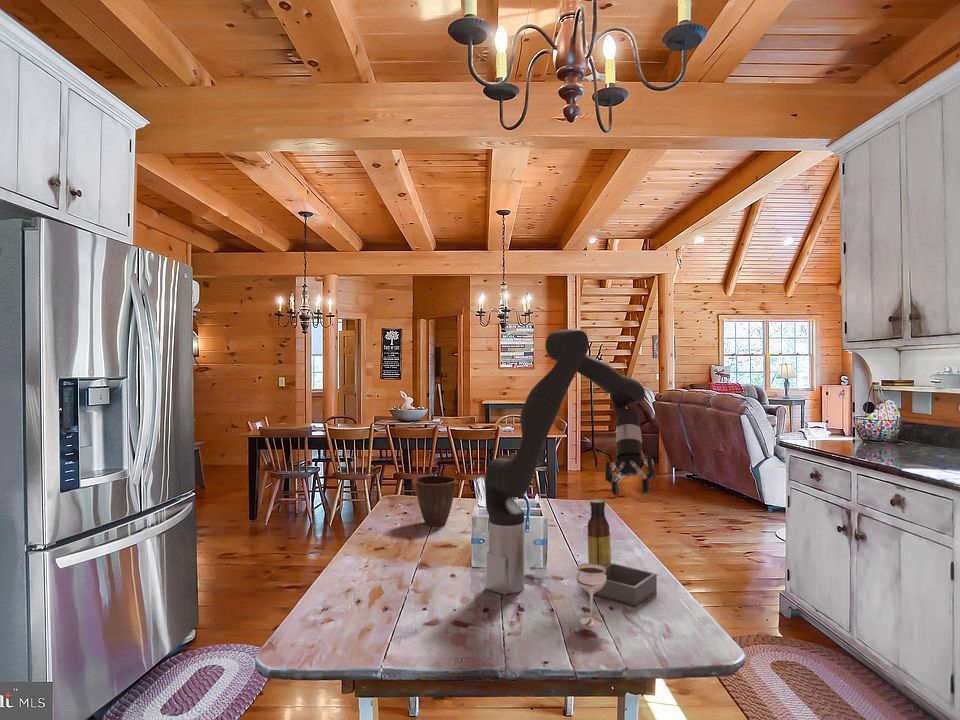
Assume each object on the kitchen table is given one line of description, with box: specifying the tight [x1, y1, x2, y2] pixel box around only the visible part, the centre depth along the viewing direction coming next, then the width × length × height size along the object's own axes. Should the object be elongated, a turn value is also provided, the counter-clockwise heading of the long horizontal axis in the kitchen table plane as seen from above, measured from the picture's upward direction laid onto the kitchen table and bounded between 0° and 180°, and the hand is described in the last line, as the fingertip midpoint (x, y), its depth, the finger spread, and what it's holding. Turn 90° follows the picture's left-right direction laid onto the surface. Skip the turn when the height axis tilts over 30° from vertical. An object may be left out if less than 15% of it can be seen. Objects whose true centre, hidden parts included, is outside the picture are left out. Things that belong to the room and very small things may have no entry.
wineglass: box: [576, 563, 607, 628], centre depth 134 cm, size 7×7×12 cm
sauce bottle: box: [587, 498, 612, 567], centre depth 166 cm, size 6×6×20 cm
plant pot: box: [414, 475, 457, 527], centre depth 215 cm, size 15×15×16 cm
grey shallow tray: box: [593, 562, 658, 608], centre depth 151 cm, size 13×13×5 cm
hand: (630, 494), depth 171 cm, fingers open, 8 cm apart
